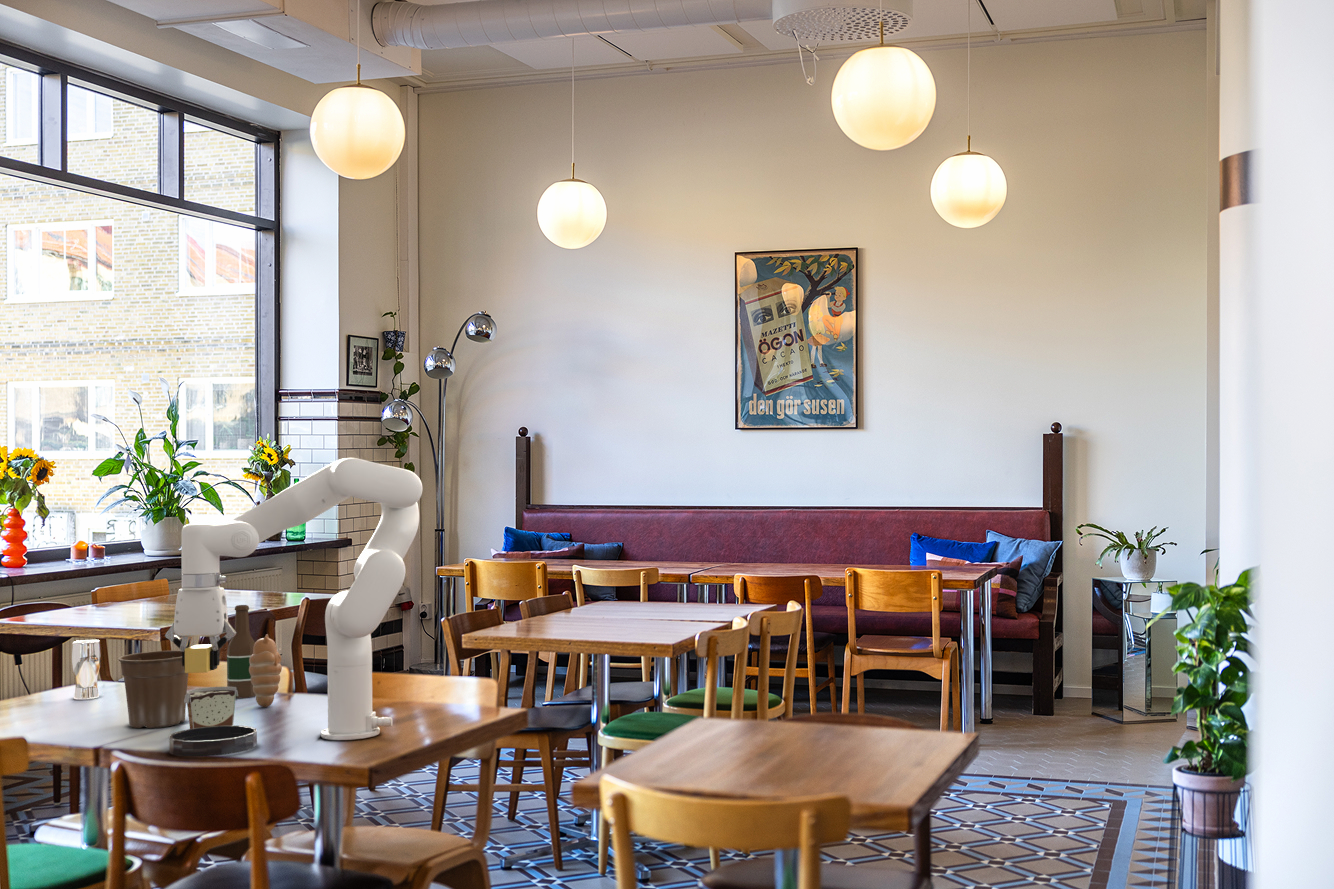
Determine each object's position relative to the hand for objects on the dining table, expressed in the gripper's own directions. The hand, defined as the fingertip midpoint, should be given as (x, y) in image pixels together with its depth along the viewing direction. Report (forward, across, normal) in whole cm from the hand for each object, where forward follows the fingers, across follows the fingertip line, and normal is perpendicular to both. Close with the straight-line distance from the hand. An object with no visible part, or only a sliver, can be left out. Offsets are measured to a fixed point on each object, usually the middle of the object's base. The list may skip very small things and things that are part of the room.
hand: (200, 668), depth 266 cm
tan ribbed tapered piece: (+17, 0, -53) cm, 56 cm away
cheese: (0, 0, 0) cm, 0 cm away
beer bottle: (+17, +11, -72) cm, 75 cm away
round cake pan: (+17, -2, 0) cm, 17 cm away
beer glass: (+17, +53, -76) cm, 95 cm away
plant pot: (+17, +20, -33) cm, 43 cm away
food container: (+17, +4, -18) cm, 25 cm away
